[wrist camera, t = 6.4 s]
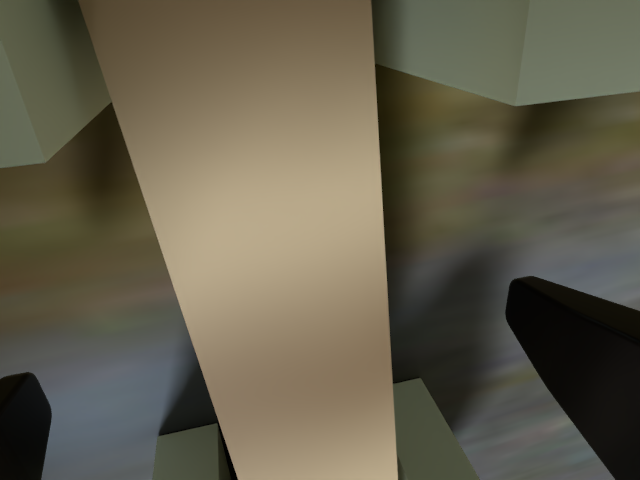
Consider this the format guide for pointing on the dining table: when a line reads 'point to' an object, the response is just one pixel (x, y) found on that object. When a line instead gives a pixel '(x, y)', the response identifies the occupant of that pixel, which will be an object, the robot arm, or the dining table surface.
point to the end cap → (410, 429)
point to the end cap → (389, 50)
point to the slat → (266, 216)
